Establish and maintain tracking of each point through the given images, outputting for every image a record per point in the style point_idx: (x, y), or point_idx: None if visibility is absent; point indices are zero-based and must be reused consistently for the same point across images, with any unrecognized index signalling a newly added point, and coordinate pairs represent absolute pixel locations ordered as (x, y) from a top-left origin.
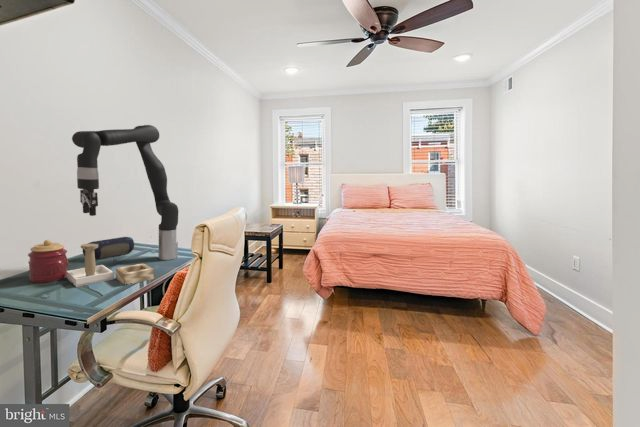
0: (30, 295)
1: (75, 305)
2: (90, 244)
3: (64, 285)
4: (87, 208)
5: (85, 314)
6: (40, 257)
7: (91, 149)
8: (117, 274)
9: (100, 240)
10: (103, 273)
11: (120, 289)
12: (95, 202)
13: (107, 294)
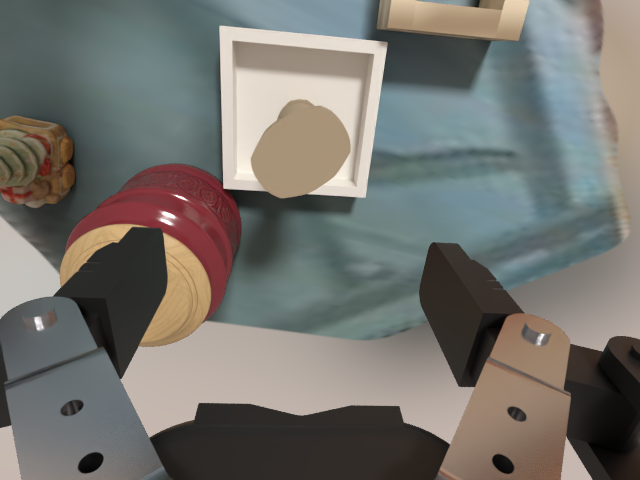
0: (333, 293)
1: (515, 237)
2: (287, 144)
3: (310, 206)
4: (137, 281)
5: (597, 239)
6: (215, 309)
7: None
8: (403, 30)
9: None
10: (371, 88)
11: (515, 80)
12: (563, 388)
13: (518, 138)
